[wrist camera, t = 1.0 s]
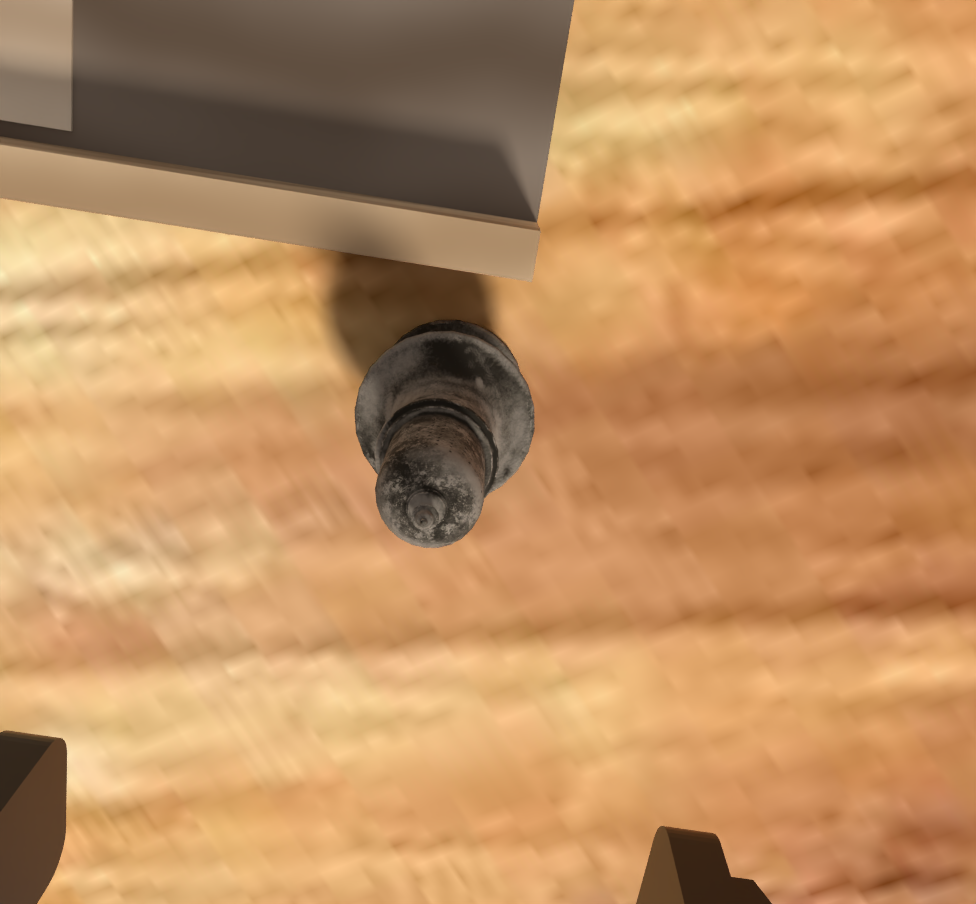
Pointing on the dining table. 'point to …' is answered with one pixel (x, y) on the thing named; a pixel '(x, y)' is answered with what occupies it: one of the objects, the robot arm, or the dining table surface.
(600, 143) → the dining table surface
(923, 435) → the dining table surface
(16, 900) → the robot arm
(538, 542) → the dining table surface
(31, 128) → the board
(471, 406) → the dark stone finial
